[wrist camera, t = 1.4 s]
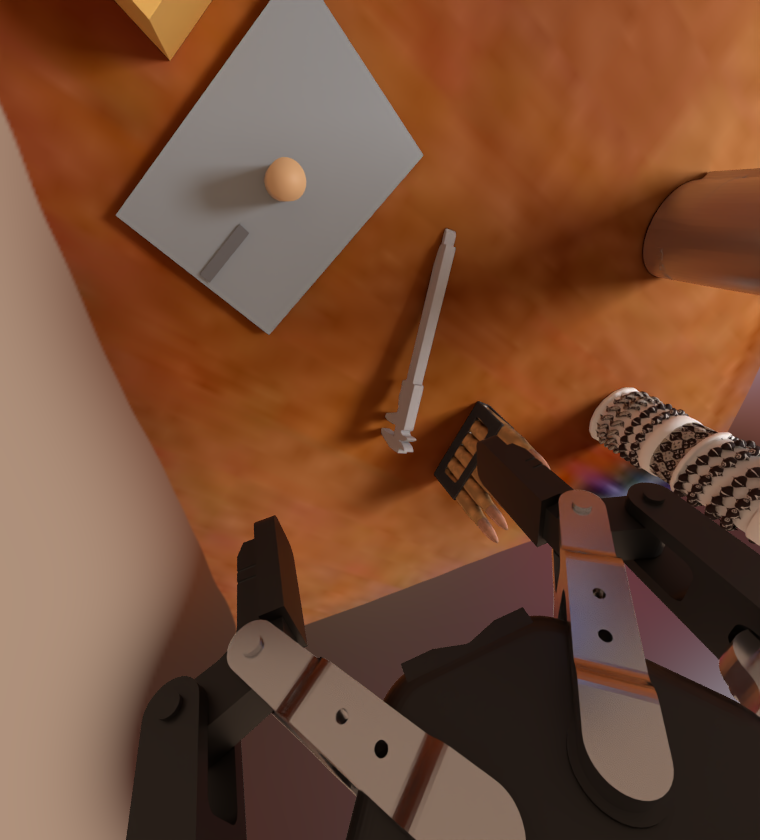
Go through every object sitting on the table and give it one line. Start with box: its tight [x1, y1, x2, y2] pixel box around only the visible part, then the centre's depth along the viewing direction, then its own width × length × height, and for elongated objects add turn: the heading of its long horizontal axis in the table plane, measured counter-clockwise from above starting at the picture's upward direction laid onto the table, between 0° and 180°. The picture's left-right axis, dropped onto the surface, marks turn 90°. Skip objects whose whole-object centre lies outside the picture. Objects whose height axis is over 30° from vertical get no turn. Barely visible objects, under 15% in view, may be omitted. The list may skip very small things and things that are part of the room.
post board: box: [116, 0, 423, 335], centre depth 24 cm, size 18×12×6 cm, turn 134°
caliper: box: [381, 228, 456, 454], centre depth 34 cm, size 20×1×6 cm, turn 163°
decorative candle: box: [589, 387, 760, 546], centre depth 41 cm, size 9×9×25 cm
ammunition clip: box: [434, 401, 551, 543], centre depth 39 cm, size 11×2×12 cm, turn 153°
